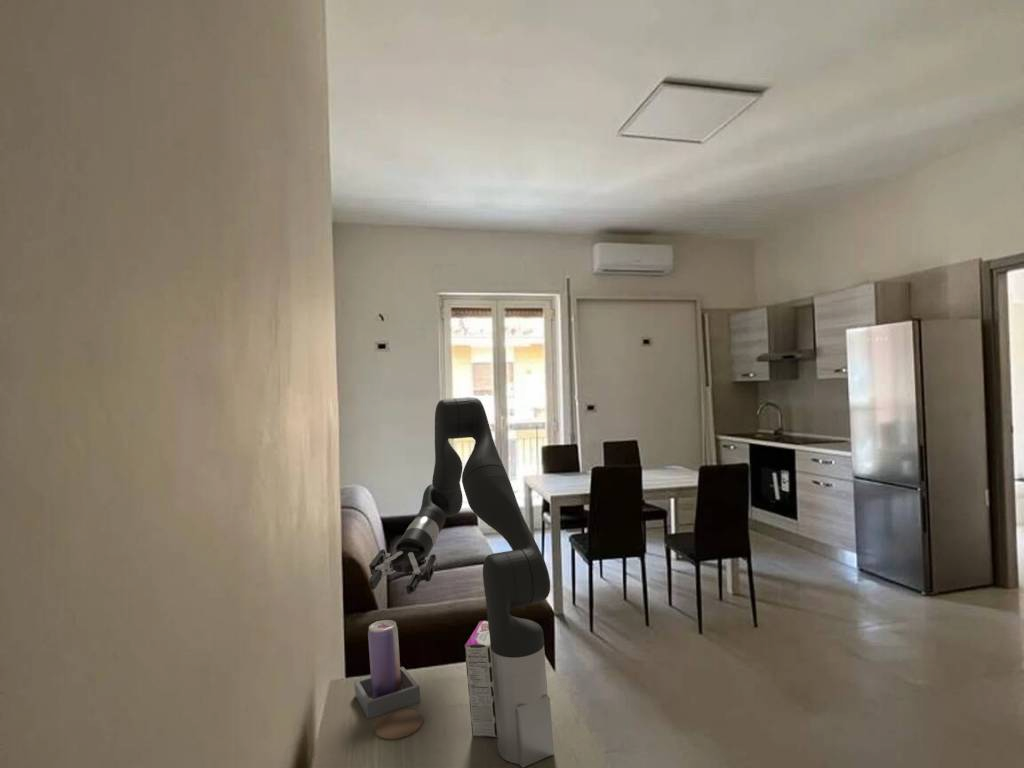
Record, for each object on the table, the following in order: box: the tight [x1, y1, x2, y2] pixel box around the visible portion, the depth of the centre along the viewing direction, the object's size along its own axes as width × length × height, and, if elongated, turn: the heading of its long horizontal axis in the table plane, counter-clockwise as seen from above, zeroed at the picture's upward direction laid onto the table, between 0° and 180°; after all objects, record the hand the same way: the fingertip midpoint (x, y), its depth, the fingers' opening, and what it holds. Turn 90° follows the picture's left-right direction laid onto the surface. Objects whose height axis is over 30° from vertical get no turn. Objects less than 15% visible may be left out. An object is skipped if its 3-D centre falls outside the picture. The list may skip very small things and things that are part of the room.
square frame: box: [354, 666, 421, 720], centre depth 116 cm, size 11×11×3 cm
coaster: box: [373, 708, 424, 740], centre depth 106 cm, size 9×9×1 cm
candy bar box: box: [464, 620, 497, 738], centre depth 105 cm, size 11×5×16 cm, turn 168°
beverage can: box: [367, 619, 403, 700], centre depth 116 cm, size 6×6×15 cm
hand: (389, 588), depth 119 cm, fingers open, 8 cm apart
